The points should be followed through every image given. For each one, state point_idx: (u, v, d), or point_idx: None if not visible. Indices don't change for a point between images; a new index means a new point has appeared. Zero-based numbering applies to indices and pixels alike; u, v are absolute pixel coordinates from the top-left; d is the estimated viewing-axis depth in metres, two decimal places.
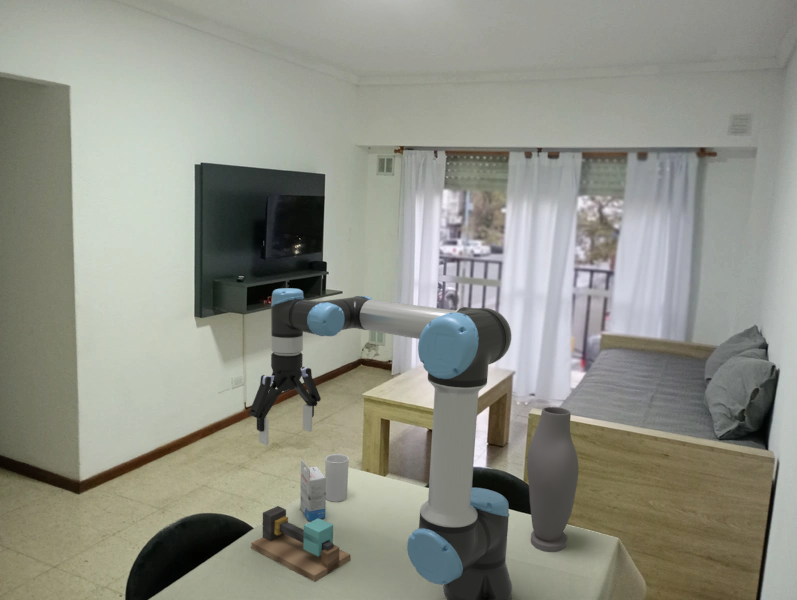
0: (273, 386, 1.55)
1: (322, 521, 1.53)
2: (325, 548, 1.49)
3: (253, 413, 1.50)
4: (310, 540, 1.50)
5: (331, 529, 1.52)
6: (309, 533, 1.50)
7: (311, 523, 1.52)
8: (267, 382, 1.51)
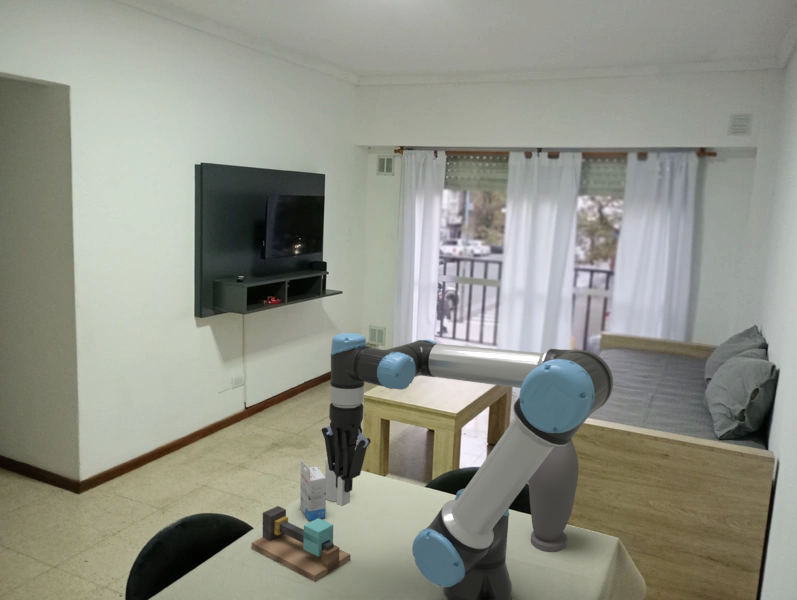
0: None
1: (322, 521, 1.53)
2: (325, 548, 1.49)
3: None
4: (310, 540, 1.50)
5: (331, 529, 1.52)
6: (309, 533, 1.50)
7: (311, 523, 1.52)
8: (323, 434, 1.46)
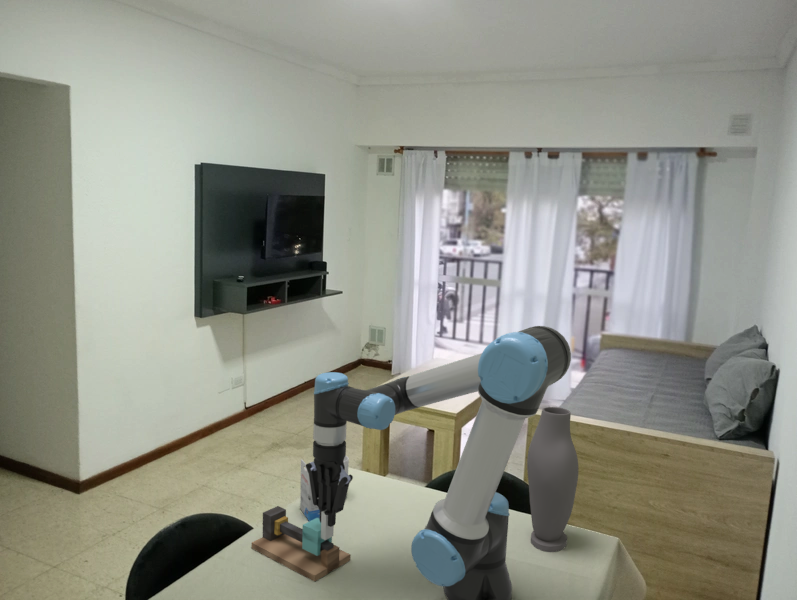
0: None
1: None
2: (325, 548, 1.49)
3: None
4: (309, 539, 1.50)
5: None
6: (308, 533, 1.50)
7: (310, 522, 1.52)
8: (307, 469, 1.50)
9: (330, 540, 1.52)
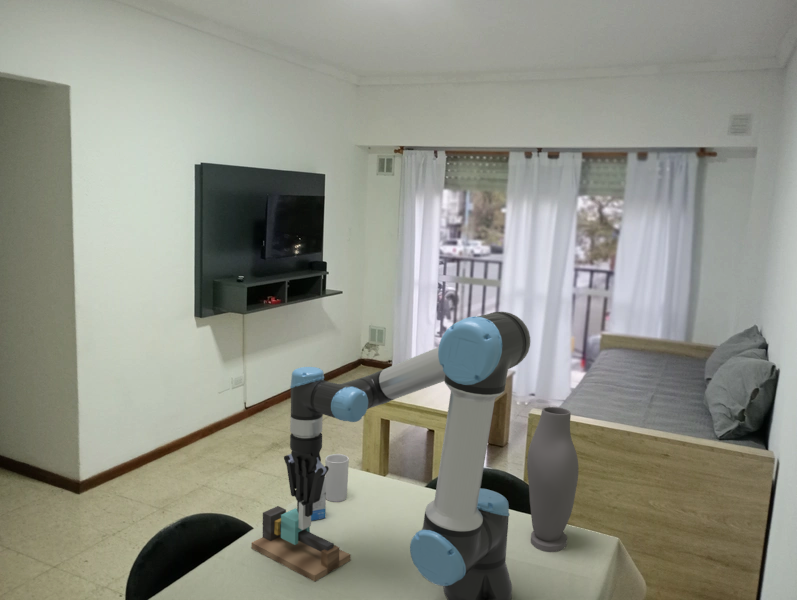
0: None
1: None
2: (325, 548, 1.49)
3: None
4: (287, 529, 1.55)
5: None
6: (286, 522, 1.55)
7: (288, 513, 1.57)
8: (285, 461, 1.55)
9: (308, 530, 1.57)
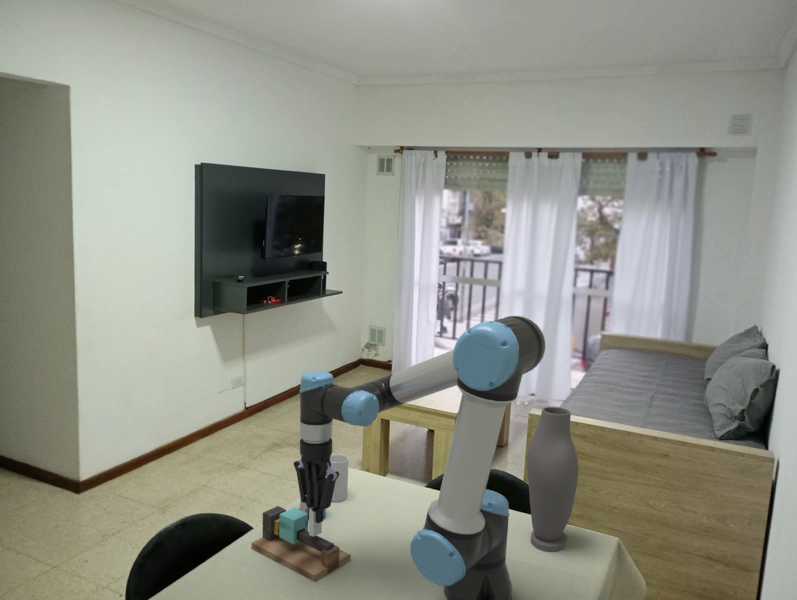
0: None
1: (298, 510, 1.58)
2: (325, 548, 1.49)
3: None
4: (286, 528, 1.55)
5: (306, 518, 1.57)
6: (285, 522, 1.55)
7: (287, 512, 1.57)
8: (295, 467, 1.53)
9: (306, 529, 1.57)
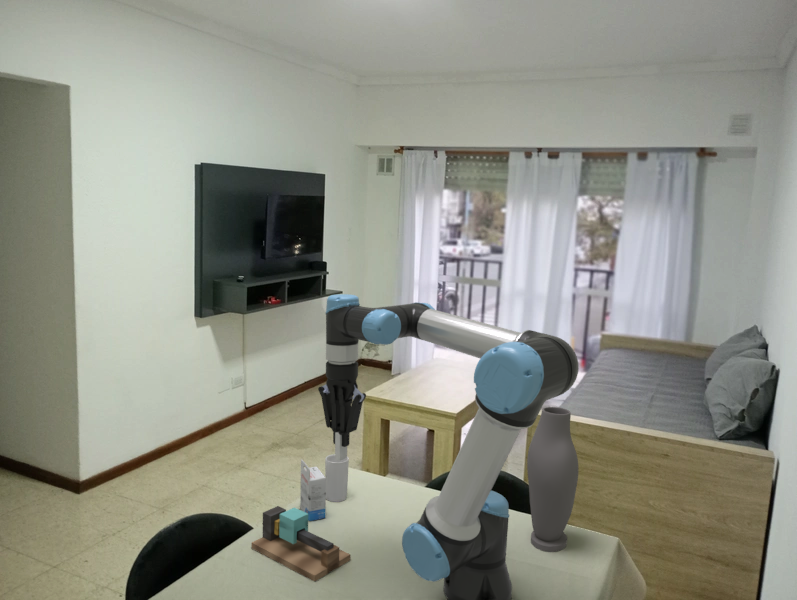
0: None
1: (298, 510, 1.58)
2: (325, 548, 1.49)
3: None
4: (286, 528, 1.55)
5: (306, 518, 1.57)
6: (285, 522, 1.55)
7: (287, 512, 1.57)
8: (320, 392, 1.53)
9: (306, 529, 1.57)
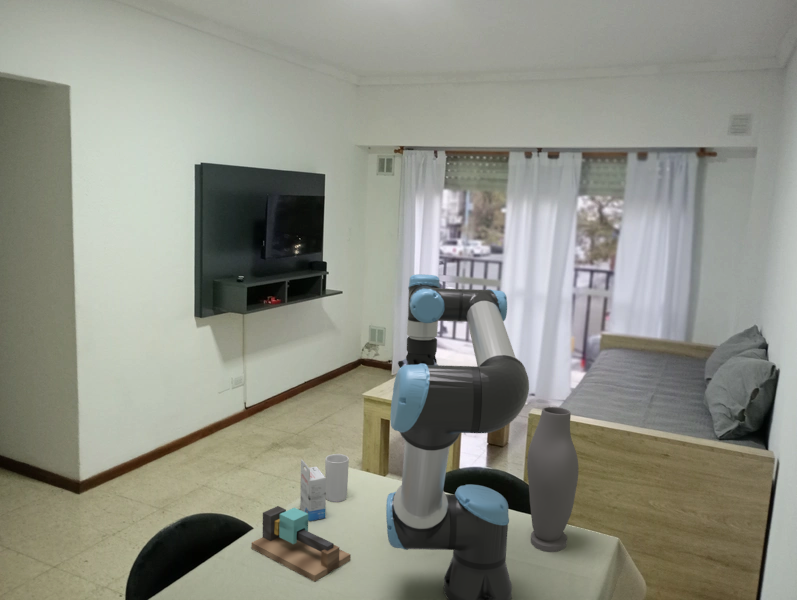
0: None
1: (298, 510, 1.58)
2: (325, 548, 1.49)
3: None
4: (286, 528, 1.55)
5: (306, 518, 1.57)
6: (285, 522, 1.55)
7: (287, 512, 1.57)
8: (400, 366, 1.63)
9: (306, 529, 1.57)
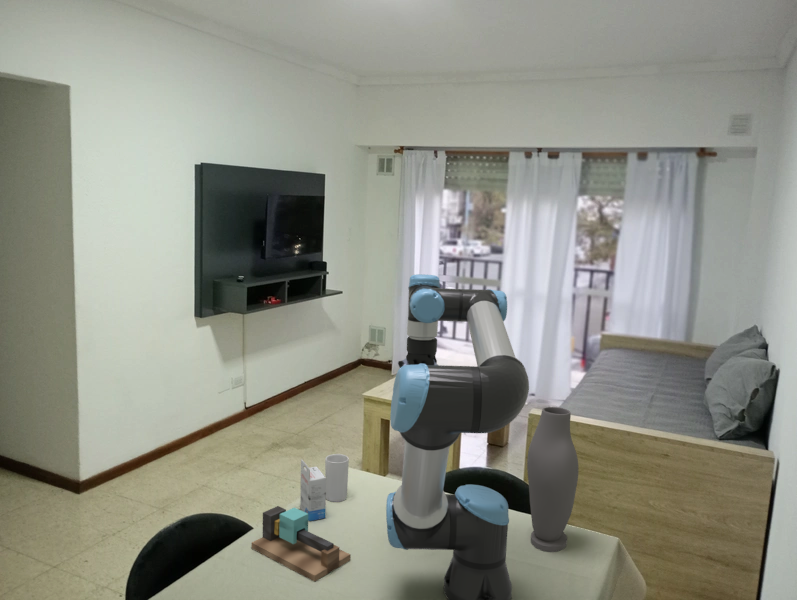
0: None
1: (298, 510, 1.58)
2: (325, 548, 1.49)
3: None
4: (286, 528, 1.55)
5: (306, 518, 1.57)
6: (285, 522, 1.55)
7: (287, 512, 1.57)
8: (400, 366, 1.63)
9: (306, 529, 1.57)
